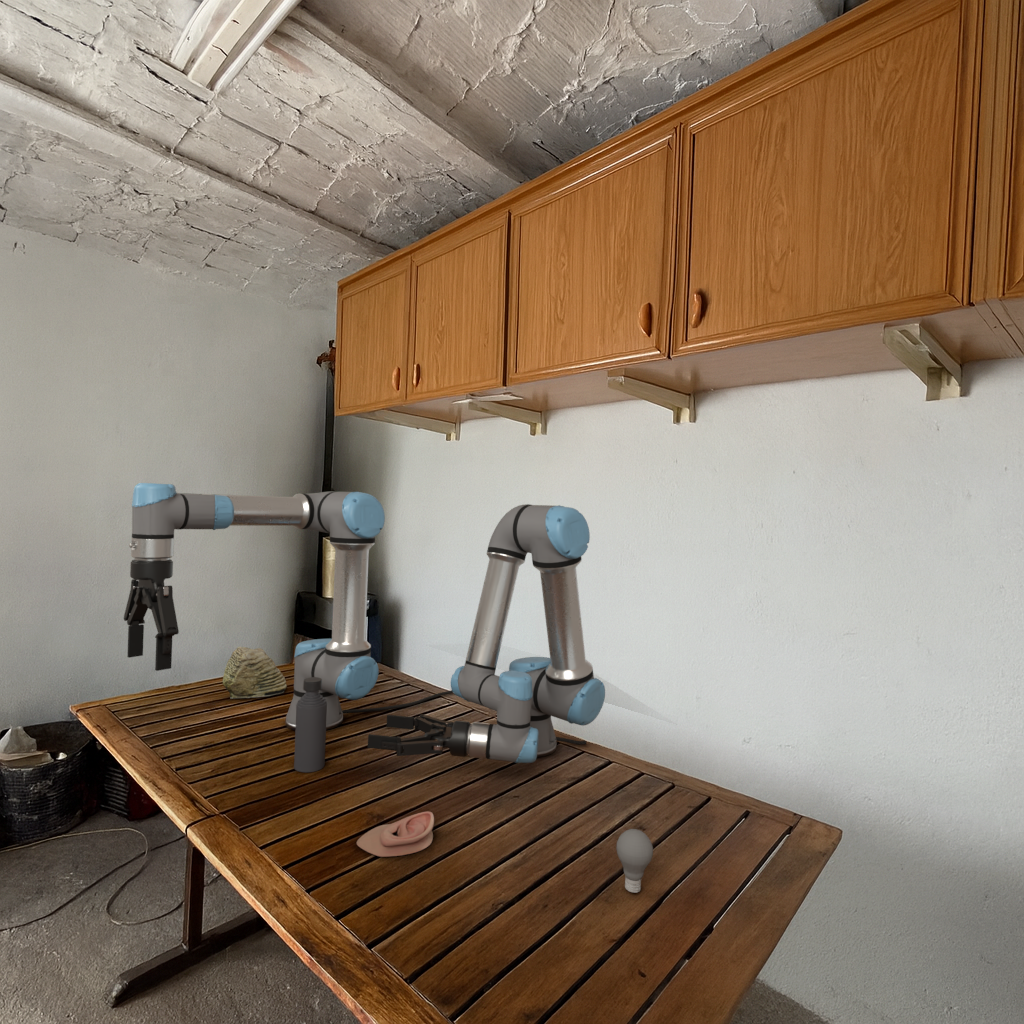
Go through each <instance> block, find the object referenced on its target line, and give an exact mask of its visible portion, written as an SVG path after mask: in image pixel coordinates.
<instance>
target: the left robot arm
mask: <svg viewBox="0 0 1024 1024" xmlns="http://www.w3.org/2000/svg"><path fill="white" fill-rule="evenodd" d="M385 515H386V513H385V511H384V508H383V505H382V503H381V502H380V501H379V500H378V498H377V497H375V495H373V494H370V493H367V492H363V491H362V492H361V491H337V490H336V491H335V490H333V491H332V490H330V491H321V492H311V493H295V494H294V495H293V496H276V495H275V496H274V495H273V496H272V495H248V494H247V495H246V494H244V495H243V494H220V493H219V494H218V493H217V494H216V493H215V494H214V493H189V492H187V493H186V492H177V491H176V486H175V485H174V484H173V483H152V482H139V483H137V484H136V485H135V486H134V488H133V492H132V501H131V520H132V521H131V542H130V543H128V547H129V548H130V549H131V550H130V556H131V558H133V559H132V560H131V561H130V567H129V568H130V571H129V574H130V575H129V576H130V578H131V581H130V590H129V594H128V598H127V603H126V607H125V610H124V615H123V621H124V622H126V624H127V626H128V629H127V630H128V631H127V658H135V657H142V656H144V635H145V634H144V630H145V625H144V624H145V623H146V621H145V619H144V618H145V616H146V615H147V612H148V609H149V610H151V613H152V618H153V620H154V624H155V627H156V631H157V633H156V635H155V636H154V638H155V661H154V663H155V665H154V668H155V669H154V670H155V671H157V672H159V671H164V670H169V669H172V659H173V657H172V655H173V637H175V636H176V635H179V632H180V631H179V625H178V619H177V615H176V614H177V613H176V609H175V603H174V597H173V595H174V593H173V585H165V580H167V579H171V578H172V577H173V575H174V573H173V572H174V561H173V560H172V559H171V558H173V557H174V554H175V553H174V552H175V530H213V531H215V530H224V529H228V528H230V526H233V527H234V526H237V527H238V526H240V527H243V526H246V527H247V526H249V527H250V526H258V527H259V526H268V527H269V526H276V527H277V526H282V527H284V526H285V527H286V526H287V527H288V526H289V527H290V526H291V527H293V528H294V529H296V530H308V531H309V530H310V531H316V532H319V533H325V534H329V544H330V545H331V546H332V547H333V548H334V550H335V551H334V572H333V573H334V577H333V599H332V625H331V626H332V627H331V638H317V639H308V640H304V641H300V642H299V643H297V645H296V646H295V650H294V655H293V657H294V672H293V673H294V674H293V695H292V696H293V697H292V699H291V702H290V704H289V708H288V711H287V713H286V715H285V726H286V728H287V729H289V730H291V731H295V729H296V704H297V703H298V700H300V698H302V696H303V695H304V694H305V693H306V691H305V690H303V684H304V679H306V678H310V677H318V678H321V679H322V686H321V689H320V690H319V693H320V695H322V697H324V699H326V702H327V716H326V731H329V730H332V729H335V728H337V727H339V726H340V725H342V723H343V722H344V715H345V714H357V713H358V714H359V713H371V712H381V711H389V710H395V709H401V708H407V707H411V706H416V705H418V704H421V703H425V702H426V701H429V700H433V699H435V698H439V697H441V696H446V695H450V694H454V693H453V691H452V689H450V690H447V691H441V692H438V693H434V694H432V695H429V696H426V697H423V698H420V699H418V700H415V701H411V702H407V703H402V704H401V703H400V704H396V705H389V706H388V705H387V706H381V707H371V708H358V709H357V708H355V709H342V706H341V702H340V699H339V698H341V699H342V700H343V699H344V700H348V701H349V700H350V701H357V700H360V699H362V698H364V697H365V696H367V695H368V694H370V692H371V690H372V689H374V687H375V685H376V683H377V682H378V678H379V674H380V672H379V671H380V670H379V669H380V668H379V665H378V663H377V662H376V660H375V659H374V657H371V652H372V649H371V648H372V644H371V643H370V642H368V640H367V639H366V631H367V607H368V606H367V605H368V604H367V602H368V582H369V581H368V579H369V555H370V553H369V552H370V550H371V548H372V547H374V545H375V544H376V536H378V535H379V534H380V533H381V530H383V528H384V526H385V522H386V521H385V520H386V516H385Z"/></svg>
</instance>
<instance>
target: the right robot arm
mask: <svg viewBox="0 0 1024 1024" xmlns="http://www.w3.org/2000/svg"><path fill="white" fill-rule="evenodd" d="M590 538H591V536H590V528H589V523H588V522H587V520H586V518H585V516H584V515H583V514H582V513H581V512H580V511H579V510H577V509H576V508H574V507H569V506H564V505H560V504H559V505H550V504H549V505H548V504H545V505H544V504H530V503H529V504H528V503H527V504H519V505H517V506H514V507H513V508H511V509H509V510H508V511H507V512H506V513H505V514H504V515H503V516H502V517H501V518H500V520H499V522H497V524H496V525H495V528H494V529H493V532H492V534H491V536H490V539H489V543H488V546H487V550H486V556H487V557H488V563H487V569H486V572H485V577H484V581H483V585H482V590H481V594H480V597H479V602H478V607H477V611H476V614H475V619H474V624H473V627H472V632H471V636H470V639H469V646H468V649H467V653H466V657H465V661H464V665H461V666H459V667H458V668H456V669H455V671H454V673H453V674H452V676H451V677H450V690H452V691H453V693H452V694H454V695H455V696H456V697H459V698H461V699H462V700H464V701H466V702H468V703H472V704H475V705H479V706H482V707H485V708H487V709H489V710H493V711H495V712H496V724H494V723H487V722H478V721H474V722H472V723H471V722H470V721H463V720H454V721H449V720H444V719H439V718H437V717H433V716H430V715H427V714H423V713H422V714H419V716H415V717H414V716H404V715H395V714H386V728H393V729H401V730H402V729H403V730H414V732H416V731H420V732H422V733H424V734H422V735H417V736H410V737H405V738H402V737H401V736H400V735H397V736H391V735H383V734H382V735H381V734H371V733H369V734H367V748H368V749H377V750H385V751H395V752H396V756H397V757H402V756H403V757H404V756H416V755H417V756H418V755H429V754H437V755H442V754H443V752H444V751H443V750H444V749H446V748H448V749H449V752H450V753H449V754H450V755H451V756H452V757H459V758H460V757H461V758H466V757H467V756H468V757H469V758H472V759H473V758H474V759H478V760H479V761H483V760H493V761H502V762H509V763H515V764H531V763H532V764H533V763H534V762H536V760H537V758H542V757H547V756H549V755H552V754H554V753H555V752H556V751H557V747H558V745H557V744H558V742H563V743H567V744H572V745H577V746H586V745H587V740H575V739H572V738H571V739H570V738H566V737H559V736H556V732H555V729H554V725H553V721H552V717H553V718H557V719H559V720H563V721H565V722H568V723H569V724H574V725H578V726H587V725H590V724H592V722H594V721H595V720H596V718H597V717H598V716H599V715H600V713H601V710H602V708H603V706H604V703H605V698H606V687H605V684H604V682H603V681H601V679H599V678H597V677H595V676H594V668H593V665H592V663H591V662H590V661H589V660H587V658H586V651H585V650H586V649H585V642H584V641H585V640H584V632H583V623H582V613H581V611H582V610H581V604H580V594H579V593H580V591H579V584H578V574H577V567H578V566H579V565H580V563H581V562H582V559H583V558H582V557H583V556H584V555H585V554H586V552H587V550H588V548H589V545H588V544H589V543H590ZM528 553H529V554H531V561H532V566H533V567H534V568H535V569H536V570H537V571H539V573H540V582H541V591H542V600H543V609H544V617H545V618H544V619H545V626H546V634H547V643H548V651H549V652H548V653H549V657H547V656H528V657H520V658H516V659H514V660H512V661H511V662H510V663H509V666H508V670H506V671H503V672H501V673H500V674H499V675H496V671H497V665H498V660H499V657H500V656H499V655H500V652H501V647H502V643H503V639H504V635H505V631H506V630H505V629H506V626H507V622H508V618H509V617H508V616H509V613H510V608H511V604H512V601H513V600H512V599H513V595H514V592H515V591H514V590H515V588H516V587H515V586H516V582H517V578H518V573H519V570H520V567H521V565H523V564H525V562H526V558H527V554H528Z"/></svg>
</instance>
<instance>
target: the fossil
mask: <svg viewBox="0 0 1024 1024" xmlns="http://www.w3.org/2000/svg"><path fill="white" fill-rule="evenodd" d="M222 676H223V677H222V685H223V687H224V688H225V690H226V691H228V693H229V698H230V699H250V698H264V697H271V696H275V695H281V694H284V693H285V691H286V689H287V687H288V686H287V680H286V678H285V676H284V674H283V673H282V672H281V669H279V668H278V667H277V665H276V663H275V662H274V660H273V659H272V658H271V657H270V656H269V655H268V654H267V653H266V652H265V650H264V649H263V648H260V647H258V648H251V647H247V646H246V647H245V646H238V647H237V648H236V649H235V650H233V651H232V653H231V656H230V657H229V659H228V660H227V663H226V666H225V668H224V671H223V675H222Z"/></svg>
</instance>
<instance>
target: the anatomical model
mask: <svg viewBox="0 0 1024 1024" xmlns="http://www.w3.org/2000/svg"><path fill="white" fill-rule="evenodd" d="M434 826H435V815H434V814H433V812H431V811H422V812H418V813H415V814H411V815H409V816H406V817H404V818H402V819H399V820H397V821H395V822H392V823H389V824H388V823H387V824H382V825H378V826H376V827H374V828H372V829H370V830H368V831H367V832H365V833H364V834H363V835H361V836H360V837H359V838H358V839H357V841H356V845H357V847H359V848H360V849H362V850H363V851H365V852H366V853H369V854H371V855H373V856H375V857H376V856H377V857H380V858H385V857H386V858H387V857H397V856H405V855H410V854H414V853H418V852H420V851H423V850H425V849H427V848H428V847H430V845H431V844H432V842H433V838H434V834H433V829H434Z"/></svg>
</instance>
